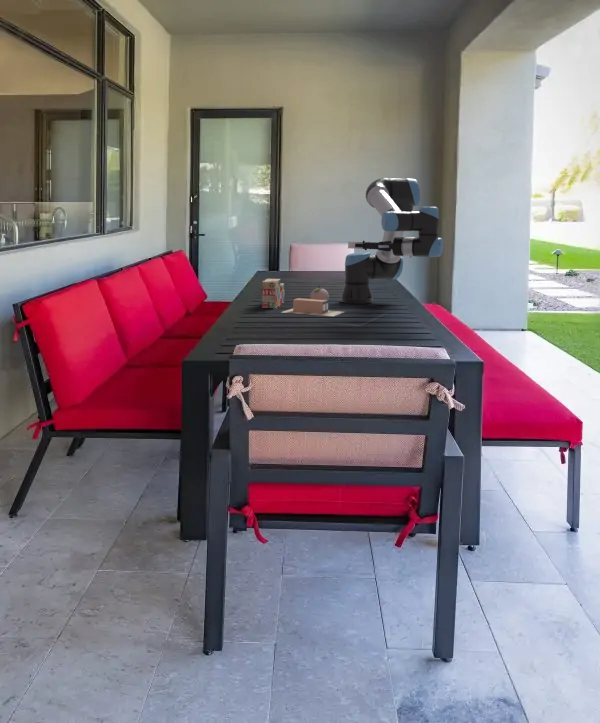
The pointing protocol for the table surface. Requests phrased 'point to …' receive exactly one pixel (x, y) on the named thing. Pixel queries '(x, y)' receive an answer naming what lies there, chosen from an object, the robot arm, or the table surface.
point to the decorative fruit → (319, 294)
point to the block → (310, 305)
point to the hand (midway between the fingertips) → (348, 245)
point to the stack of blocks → (272, 293)
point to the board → (329, 313)
